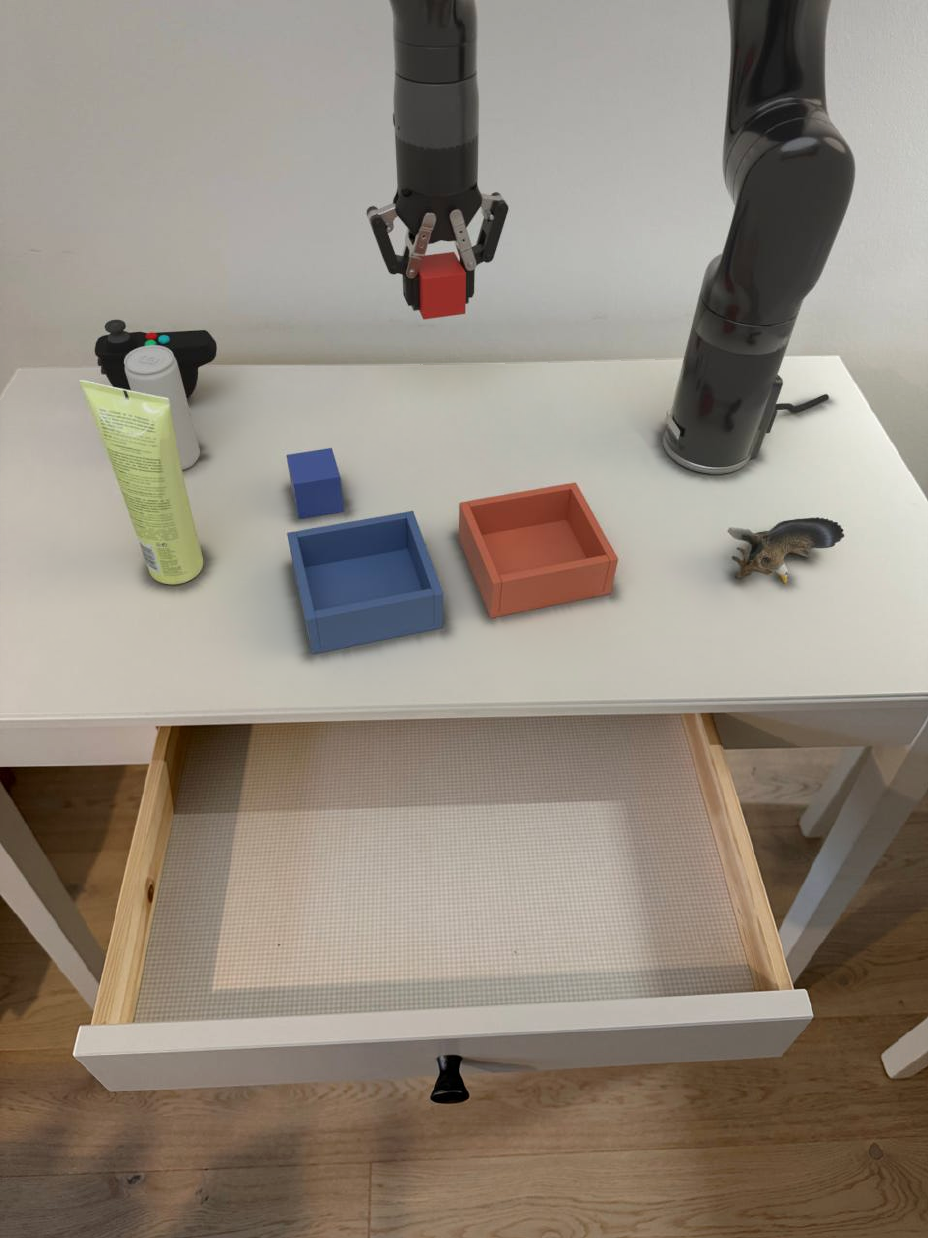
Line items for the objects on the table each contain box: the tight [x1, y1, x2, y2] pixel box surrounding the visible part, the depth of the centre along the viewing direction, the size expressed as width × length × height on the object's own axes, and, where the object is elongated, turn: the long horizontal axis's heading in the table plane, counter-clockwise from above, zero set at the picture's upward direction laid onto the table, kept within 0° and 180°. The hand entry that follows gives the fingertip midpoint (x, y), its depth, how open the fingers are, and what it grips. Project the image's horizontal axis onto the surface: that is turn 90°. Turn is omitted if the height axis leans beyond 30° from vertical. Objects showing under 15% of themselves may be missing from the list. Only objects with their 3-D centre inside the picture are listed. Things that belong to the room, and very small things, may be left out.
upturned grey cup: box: [124, 345, 201, 471], centre depth 87 cm, size 5×5×12 cm
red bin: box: [457, 481, 619, 619], centre depth 81 cm, size 12×11×5 cm
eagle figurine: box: [727, 516, 845, 584], centre depth 81 cm, size 8×7×9 cm
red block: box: [418, 251, 466, 321], centre depth 90 cm, size 4×4×4 cm
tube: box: [79, 379, 204, 585], centre depth 74 cm, size 6×5×20 cm
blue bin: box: [286, 510, 444, 655], centre depth 78 cm, size 12×11×5 cm
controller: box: [94, 319, 218, 400], centre depth 94 cm, size 4×12×10 cm, turn 100°
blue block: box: [285, 447, 345, 520], centre depth 86 cm, size 4×4×4 cm
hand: (439, 302), depth 91 cm, fingers closed on red block, 4 cm apart
